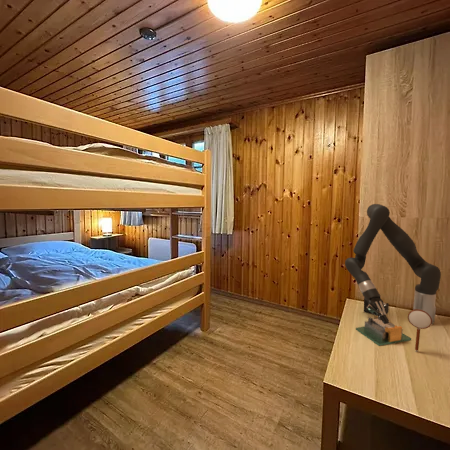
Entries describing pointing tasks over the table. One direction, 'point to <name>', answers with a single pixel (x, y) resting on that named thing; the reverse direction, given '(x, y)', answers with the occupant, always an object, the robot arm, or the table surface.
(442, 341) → the table surface
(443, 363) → the table surface
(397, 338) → the circuit board
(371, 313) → the battery
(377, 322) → the light grey flat bar
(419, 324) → the magnifying glass
